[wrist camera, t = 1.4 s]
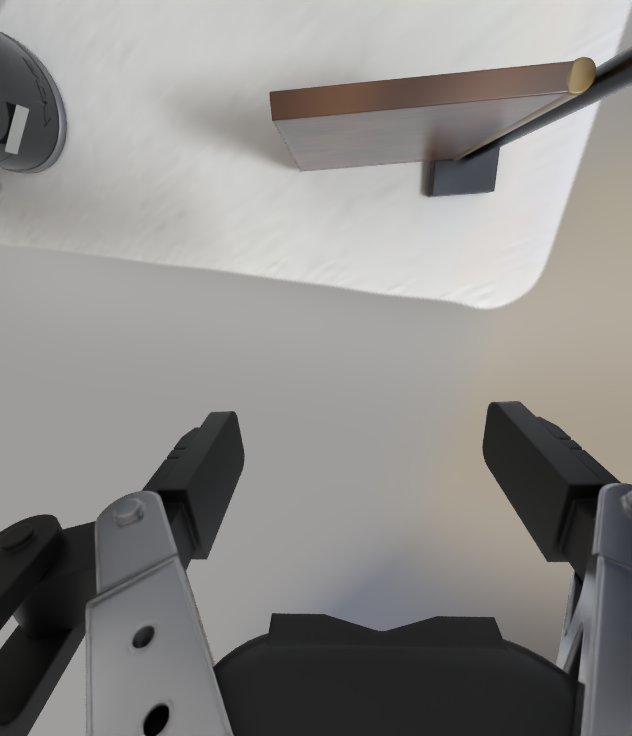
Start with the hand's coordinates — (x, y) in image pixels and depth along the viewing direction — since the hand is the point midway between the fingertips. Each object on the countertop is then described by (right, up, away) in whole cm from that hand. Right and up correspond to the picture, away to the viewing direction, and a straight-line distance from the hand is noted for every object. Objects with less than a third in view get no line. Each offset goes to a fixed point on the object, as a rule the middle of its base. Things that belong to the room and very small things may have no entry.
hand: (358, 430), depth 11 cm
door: (+4, +19, +15) cm, 25 cm away
